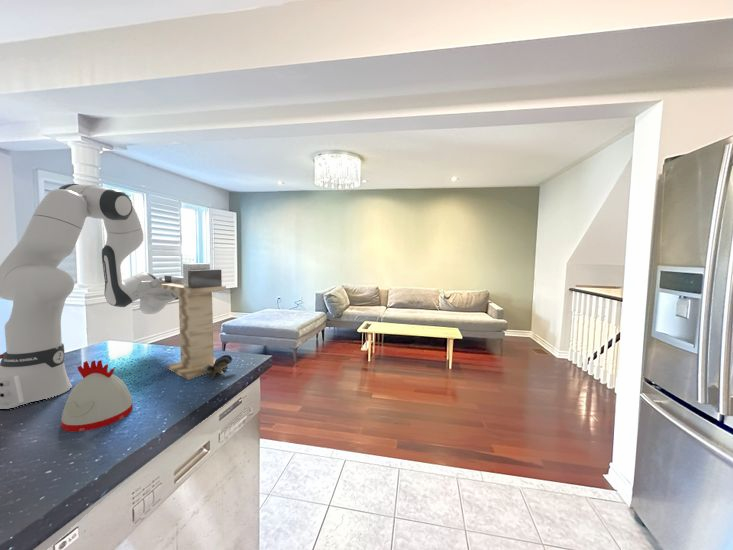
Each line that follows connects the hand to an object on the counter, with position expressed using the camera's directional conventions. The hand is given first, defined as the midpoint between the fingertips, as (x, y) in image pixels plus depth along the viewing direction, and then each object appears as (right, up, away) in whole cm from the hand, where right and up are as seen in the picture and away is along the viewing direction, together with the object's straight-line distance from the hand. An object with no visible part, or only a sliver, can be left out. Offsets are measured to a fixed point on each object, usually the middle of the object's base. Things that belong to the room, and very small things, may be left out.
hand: (173, 278), depth 119 cm
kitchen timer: (+6, -36, -40) cm, 54 cm away
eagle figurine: (+25, -34, -13) cm, 44 cm away
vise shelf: (+12, -33, -6) cm, 36 cm away
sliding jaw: (+7, -2, -5) cm, 8 cm away
